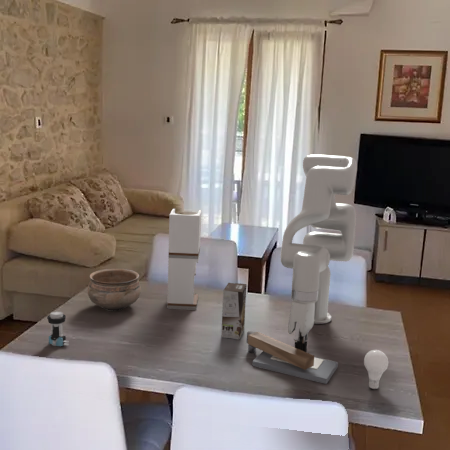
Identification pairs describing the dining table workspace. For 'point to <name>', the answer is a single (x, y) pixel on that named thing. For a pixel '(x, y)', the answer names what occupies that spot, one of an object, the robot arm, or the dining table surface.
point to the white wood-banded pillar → (183, 259)
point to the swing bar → (280, 350)
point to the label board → (315, 373)
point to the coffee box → (233, 310)
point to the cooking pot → (114, 288)
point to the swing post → (251, 349)
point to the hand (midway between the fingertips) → (300, 353)
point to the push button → (56, 329)
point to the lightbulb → (375, 366)
